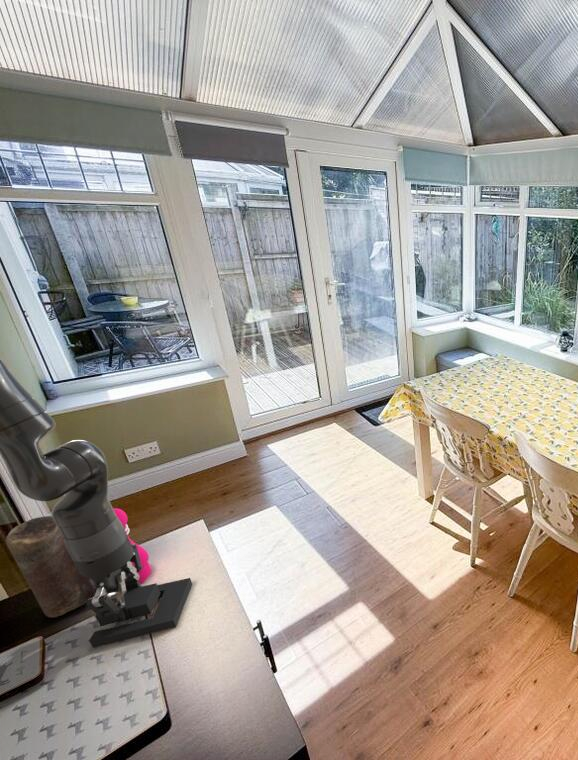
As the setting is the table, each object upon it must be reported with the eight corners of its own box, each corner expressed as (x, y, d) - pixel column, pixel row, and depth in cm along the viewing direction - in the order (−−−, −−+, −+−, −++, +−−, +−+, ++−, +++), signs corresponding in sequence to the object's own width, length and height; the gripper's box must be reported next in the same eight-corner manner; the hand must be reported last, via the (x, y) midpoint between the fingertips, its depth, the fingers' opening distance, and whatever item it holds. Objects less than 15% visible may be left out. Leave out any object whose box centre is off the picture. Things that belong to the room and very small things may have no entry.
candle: (97, 581, 90) (60, 509, 82) (98, 604, 85) (58, 530, 77) (46, 602, 85) (2, 527, 77) (44, 627, 80) (-4, 551, 72)
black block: (100, 626, 79) (94, 616, 77) (112, 604, 83) (107, 593, 82) (151, 614, 81) (146, 603, 80) (160, 593, 85) (156, 582, 84)
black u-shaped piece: (92, 648, 77) (88, 641, 76) (118, 600, 86) (115, 594, 85) (176, 627, 81) (173, 620, 80) (192, 584, 90) (190, 577, 89)
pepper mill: (152, 559, 95) (122, 490, 87) (156, 578, 91) (125, 507, 83) (110, 577, 91) (74, 506, 83) (113, 598, 86) (75, 525, 78)
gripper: (93, 521, 80) (123, 583, 87) (48, 581, 67) (88, 647, 74) (140, 512, 82) (166, 573, 89) (106, 569, 70) (139, 634, 77)
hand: (130, 607), depth 82 cm, fingers closed on black block, 5 cm apart
